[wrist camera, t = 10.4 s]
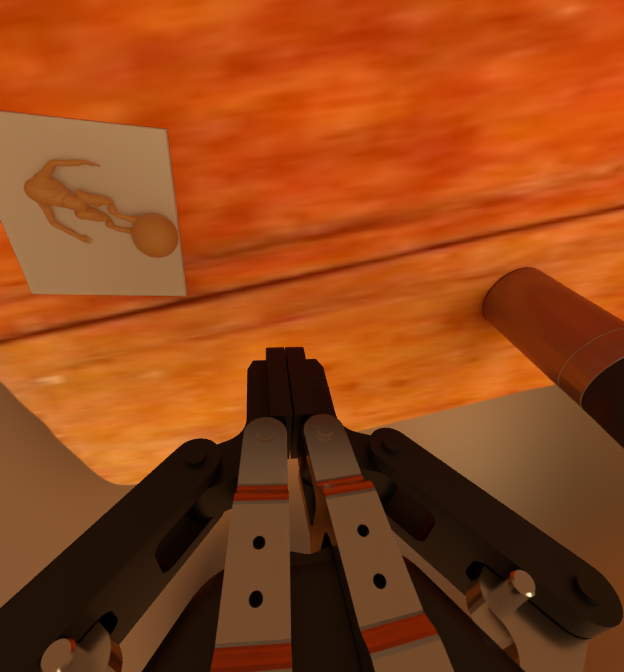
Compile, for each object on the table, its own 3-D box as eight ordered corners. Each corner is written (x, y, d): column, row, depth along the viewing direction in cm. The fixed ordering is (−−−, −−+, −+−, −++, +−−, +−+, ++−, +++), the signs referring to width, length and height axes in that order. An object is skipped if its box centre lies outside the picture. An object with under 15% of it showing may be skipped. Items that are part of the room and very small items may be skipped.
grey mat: (167, 128, 28) (165, 129, 28) (186, 292, 38) (186, 296, 37) (-42, 105, 25) (-49, 106, 25) (36, 290, 35) (32, 293, 34)
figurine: (197, 205, 30) (72, 120, 28) (158, 229, 25) (5, 130, 23) (175, 269, 35) (69, 202, 33) (140, 299, 31) (14, 223, 29)
